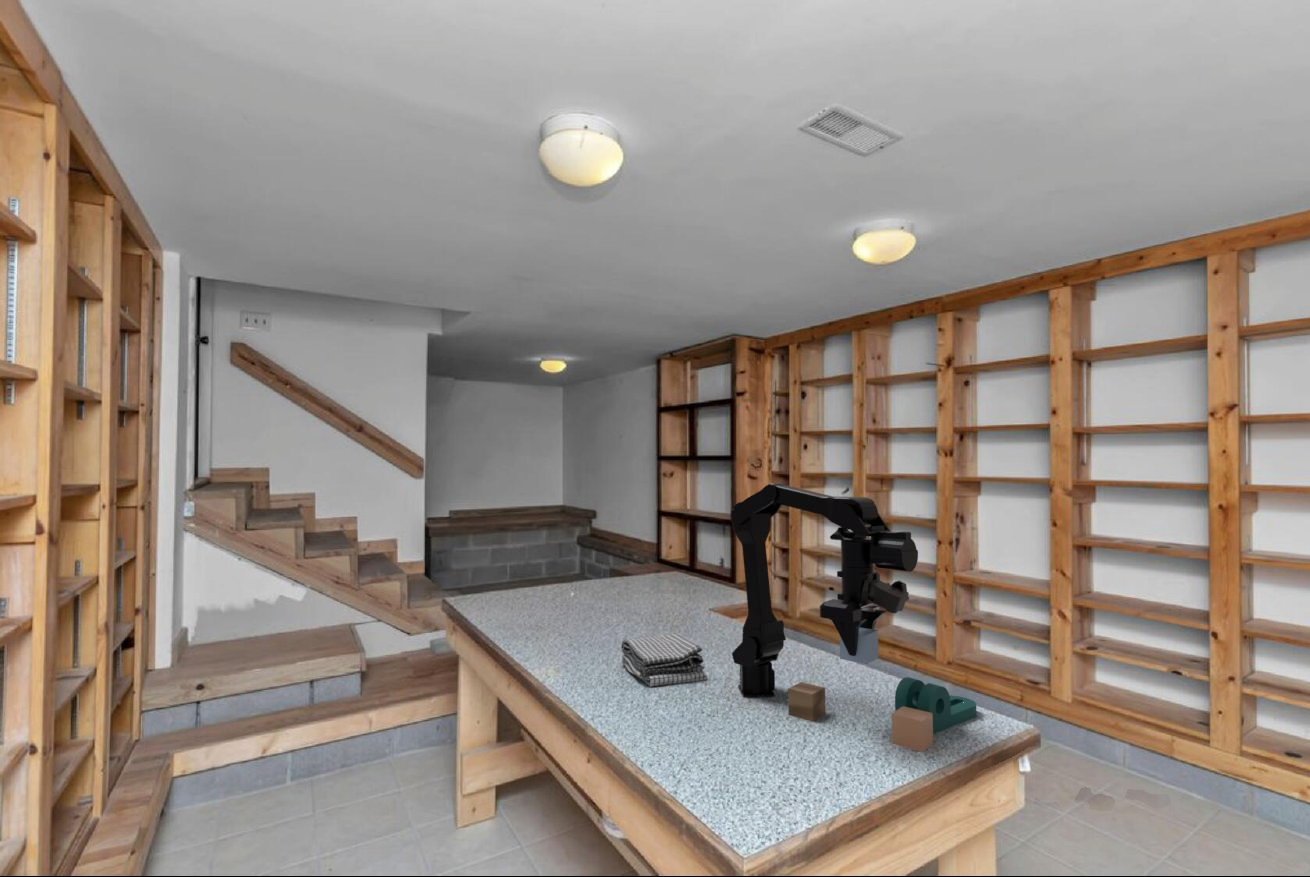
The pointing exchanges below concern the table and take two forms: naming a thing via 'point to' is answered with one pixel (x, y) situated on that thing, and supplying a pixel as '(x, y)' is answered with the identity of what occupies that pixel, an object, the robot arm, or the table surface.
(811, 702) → the walnut cube
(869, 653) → the blue cube
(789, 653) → the table surface
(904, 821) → the table surface
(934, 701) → the bracket
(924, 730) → the terracotta cube
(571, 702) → the table surface
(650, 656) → the towel
